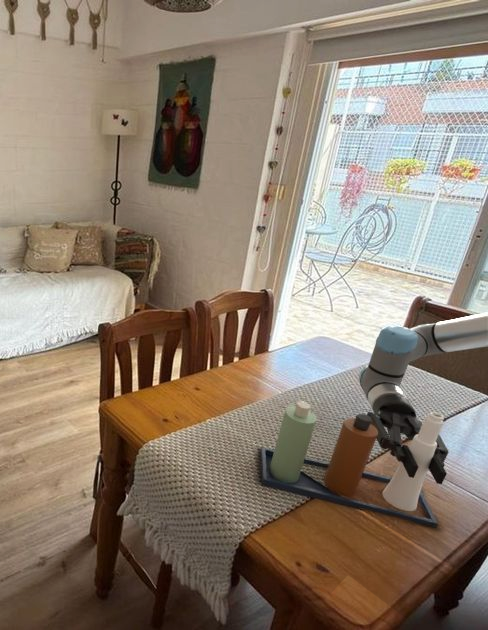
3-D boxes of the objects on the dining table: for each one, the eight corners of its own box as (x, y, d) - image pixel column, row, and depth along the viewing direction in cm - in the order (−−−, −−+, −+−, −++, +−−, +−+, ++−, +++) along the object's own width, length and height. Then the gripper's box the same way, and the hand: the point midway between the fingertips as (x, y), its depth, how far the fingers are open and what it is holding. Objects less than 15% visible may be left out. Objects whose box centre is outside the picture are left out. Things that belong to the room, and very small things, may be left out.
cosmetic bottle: (377, 487, 95) (412, 402, 86) (410, 494, 94) (448, 409, 85) (386, 508, 90) (424, 420, 81) (421, 516, 88) (463, 428, 79)
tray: (414, 491, 95) (418, 483, 95) (434, 532, 86) (438, 523, 85) (259, 454, 105) (261, 446, 104) (261, 487, 95) (263, 479, 95)
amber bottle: (360, 489, 94) (387, 419, 87) (346, 501, 91) (373, 430, 84) (331, 472, 99) (355, 404, 92) (318, 483, 96) (341, 414, 88)
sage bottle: (304, 475, 98) (325, 407, 90) (289, 487, 95) (310, 417, 87) (279, 460, 102) (297, 393, 95) (264, 470, 99) (282, 402, 92)
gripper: (428, 428, 102) (474, 503, 81) (346, 411, 107) (370, 478, 86) (439, 401, 99) (491, 471, 78) (354, 385, 104) (382, 448, 83)
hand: (427, 475), depth 82 cm, fingers open, 4 cm apart
